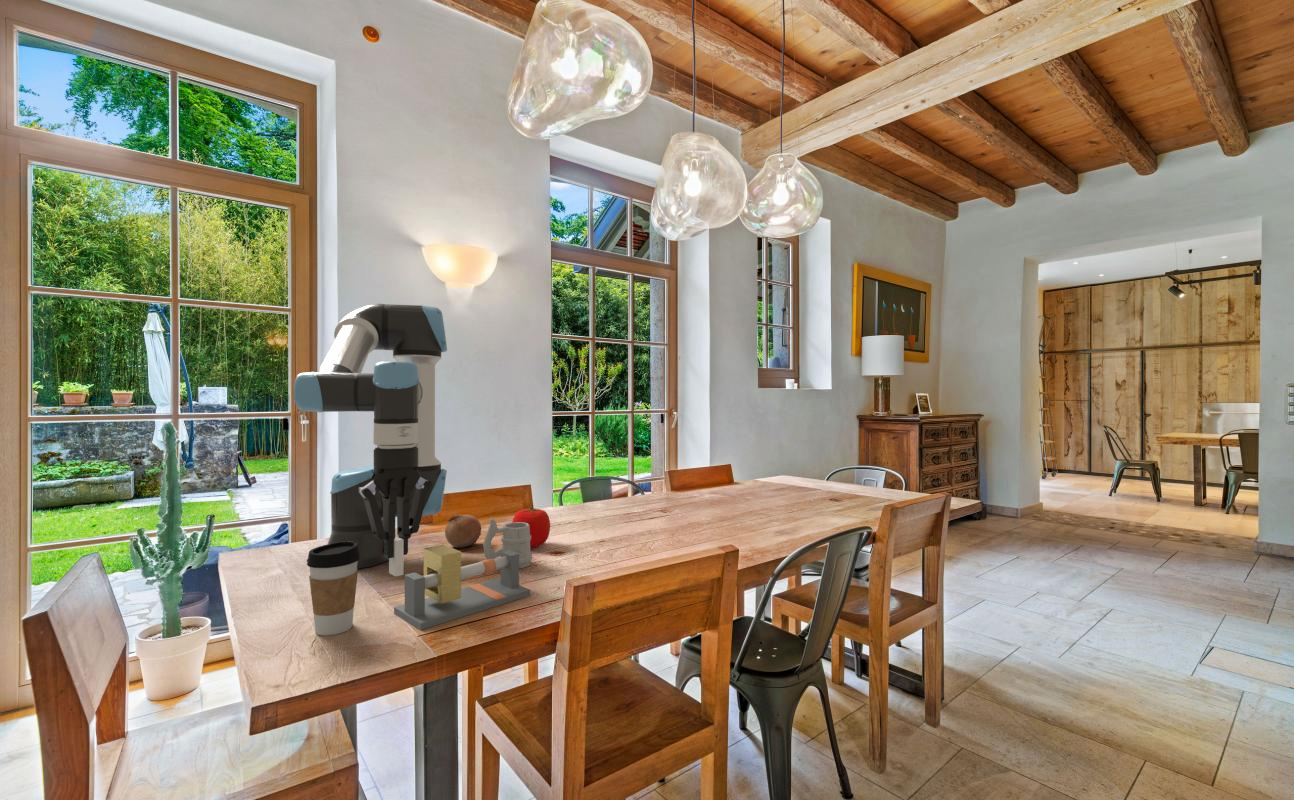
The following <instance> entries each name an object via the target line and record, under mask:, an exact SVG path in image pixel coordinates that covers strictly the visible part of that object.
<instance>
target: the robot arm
mask: <svg viewBox="0 0 1294 800" xmlns="http://www.w3.org/2000/svg"><path fill="white" fill-rule="evenodd" d="M333 334H334V335H333V337H334V340H333V342H332V344H331V346H330V348H329V349H328V351H327V352H326V355H325V356H324V358H323V360H322V362H321V364H320V366H319V368H318V370H317V371H316V372H315V371H310V372H301V373H298V374H297V376H296V378H295V380H294V384H293V397H294V404H295V405H296V407H297V409H298V410H300V411H302V412H317V413H323V412H324V413H326V412H327V413H328V412H329V413H331V412H338V413H339V412H343V413H344V412H373V442H372V443H373V445H375V446H376V447H375V448H374V449H373V465H369V466H368V465H366V466H360V467H354V468H350V469H346V470H342V471H339V472H337V473H336V474H334V475H333V476H332V478H331V487H330V488H331V489H330V493H329V494H330V496H331V497H330V498H331V500H330V503H331V504H330V507H331V508H330V510H331V511H330V512H331V516H330V517H331V530H330V531H331V532H330V536H329V538H328V541H327V544H331V543H336V542H341V541H354V542H357V543H358V549H359V553H360V556H359V557H360V559H359V560H358V561H357V569H365V568H370V567H373V566H378V565H380V564H384V563H386V562H387V561H388V574H389V575H391V576H394V577H400V576H403V575H404V565H405V564H404V562H405V561H404V556H406V555H408V552H409V539H410V538H411V537H412V535H413V534H417V533H418V532H419V530H420V525H421V523H422V522H421V521H422V517H423V516H432V515H437V514H439V513H440V512H441V510H442V507H443V500H444V495H445V488H446V487H445V486H446V480H447V473H448V472H447V470H446V469H445V468H442V462H441V461H440V460H439V459H438V458H437V457H436V364H437V363H438V362H440V361H441V359H442V353H445V352H447V351H448V347H447V338H446V330H445V323H444V316H443V312H442V310H441V309H439V307H436V306H427V305H423V304H421V305H419V304H418V305H413V304H410V305H409V304H390V303H389V304H385V303H373V304H368V305H364V306H363V307H359V308H356V309H354V310H352V311H351V312H349V313H348V314H346V315H345V316H343V318H341V319H340V320H339V321H338V323H337V325H336V326H335V329H334V332H333ZM375 350H377V351H379V350H380V351H381V350H382V351H392V358H393V359H394V360H395V361H379V362H378V361H377V362H376V363H375V364H374V367H373V373H366V372H364V373H362V371H363V369H364V367H365V364H366V361H367V359H368V357H369V354H370V353H372V352H373V351H375ZM396 523H397V524H396ZM396 529H397V530H396ZM396 533H397V535H398V536H396Z"/></svg>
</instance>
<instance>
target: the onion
mask: <svg viewBox="0 0 1294 800" xmlns="http://www.w3.org/2000/svg"><path fill="white" fill-rule="evenodd" d="M446 522H447V524H446V526H445V531H444V535H445V539H446V541H447V542H448V543H449V545H451V546H452V547H454V548H455V549H456V548H457V549H460V548H461V549H463V548H470V547H472V546H474V545H475V544H476V543H477V542H478V540H479V538H480V536H481V534H482V525H481V522H480V520H479V519H478V518H477V517H476V516H474V515H472V514H455V515H453V516H451V517H450V519H448V520H447V521H446Z"/></svg>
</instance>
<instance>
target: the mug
mask: <svg viewBox="0 0 1294 800" xmlns="http://www.w3.org/2000/svg"><path fill="white" fill-rule="evenodd" d="M489 520H490V521H489V522H490V523H489V526H488V529H487V532H486V535H485V537H484V541H483V543H482V548H483V555H484V558H485V560H487V559H491V558H492V559H495V558H499V557H501V552H503V551H507V550H510V551H512V552H515V553H518V554H519V569H525V568H528V567H530V566H531V565H532V564H531V563H532V562H531V561H532V560H533V554H532V553H531V548H530V540H531V535H530V526H529V524H528V523H523V522H515V523H512V522H509V523H505V524H504V525H503V526H502V527H498V524H497V522H496V521H495V519H494V518H490V519H489ZM500 533H502V536H501V539H500V540H501V542H502V544H501V545H502V547H501V548H499V549H497V550H494V549H493V548H492V540H493V539H494V537H495V536H496V534H500Z"/></svg>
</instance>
